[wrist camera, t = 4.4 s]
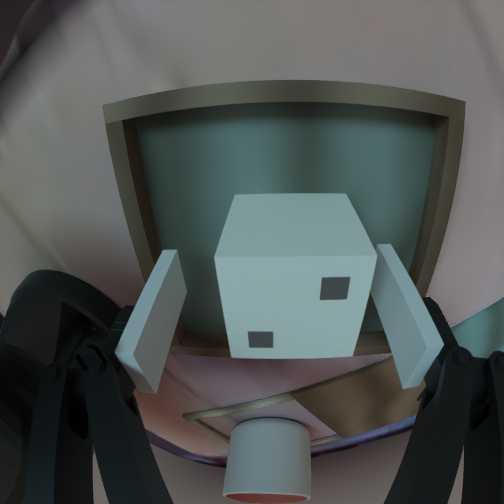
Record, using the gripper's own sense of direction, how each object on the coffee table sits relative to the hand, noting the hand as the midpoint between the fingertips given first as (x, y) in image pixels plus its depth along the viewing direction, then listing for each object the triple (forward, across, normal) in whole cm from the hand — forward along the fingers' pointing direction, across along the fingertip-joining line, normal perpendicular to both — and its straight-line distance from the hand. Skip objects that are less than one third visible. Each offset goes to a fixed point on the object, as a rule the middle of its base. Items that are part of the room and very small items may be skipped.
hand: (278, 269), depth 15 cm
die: (+3, +1, 0) cm, 3 cm away
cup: (+3, -1, -28) cm, 28 cm away
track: (+3, +11, -21) cm, 24 cm away
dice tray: (+3, +1, 0) cm, 3 cm away
